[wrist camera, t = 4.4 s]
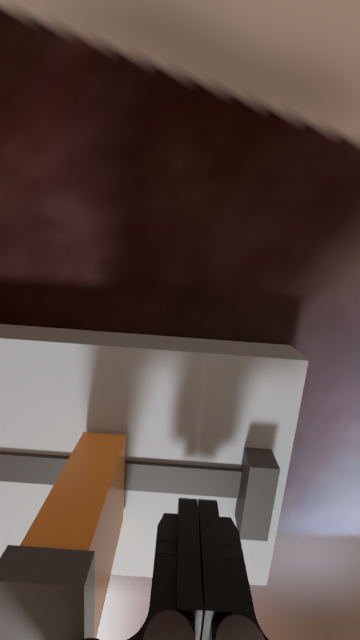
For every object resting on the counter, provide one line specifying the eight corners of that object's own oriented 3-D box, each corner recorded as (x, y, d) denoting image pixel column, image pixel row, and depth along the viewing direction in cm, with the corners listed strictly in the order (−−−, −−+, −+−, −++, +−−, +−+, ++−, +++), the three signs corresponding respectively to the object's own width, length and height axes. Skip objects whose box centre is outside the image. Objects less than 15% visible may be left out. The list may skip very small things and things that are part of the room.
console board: (290, 344, 14) (322, 372, 10) (256, 545, 16) (274, 615, 13) (-219, 308, 13) (-339, 324, 10) (-166, 515, 16) (-249, 578, 13)
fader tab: (130, 431, 12) (84, 586, 6) (127, 523, 13) (85, 724, 8) (78, 427, 12) (-13, 579, 6) (79, 519, 13) (1, 718, 8)
